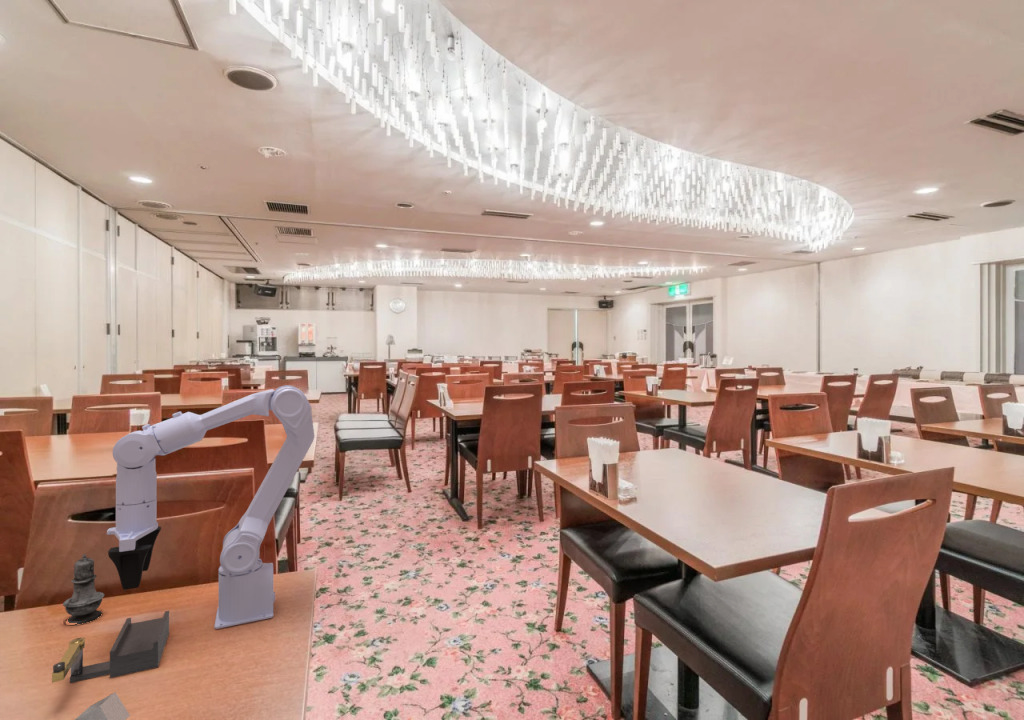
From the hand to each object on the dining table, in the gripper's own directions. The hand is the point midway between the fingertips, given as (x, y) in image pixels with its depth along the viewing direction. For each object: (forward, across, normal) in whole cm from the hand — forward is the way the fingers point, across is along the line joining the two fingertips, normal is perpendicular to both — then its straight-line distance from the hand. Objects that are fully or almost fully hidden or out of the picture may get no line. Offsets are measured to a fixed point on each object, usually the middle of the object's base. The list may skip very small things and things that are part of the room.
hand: (136, 579), depth 87 cm
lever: (+6, +14, -5) cm, 16 cm away
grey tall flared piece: (+10, -12, -10) cm, 19 cm away
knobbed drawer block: (+10, +25, 0) cm, 27 cm away
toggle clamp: (+10, +7, -1) cm, 12 cm away
